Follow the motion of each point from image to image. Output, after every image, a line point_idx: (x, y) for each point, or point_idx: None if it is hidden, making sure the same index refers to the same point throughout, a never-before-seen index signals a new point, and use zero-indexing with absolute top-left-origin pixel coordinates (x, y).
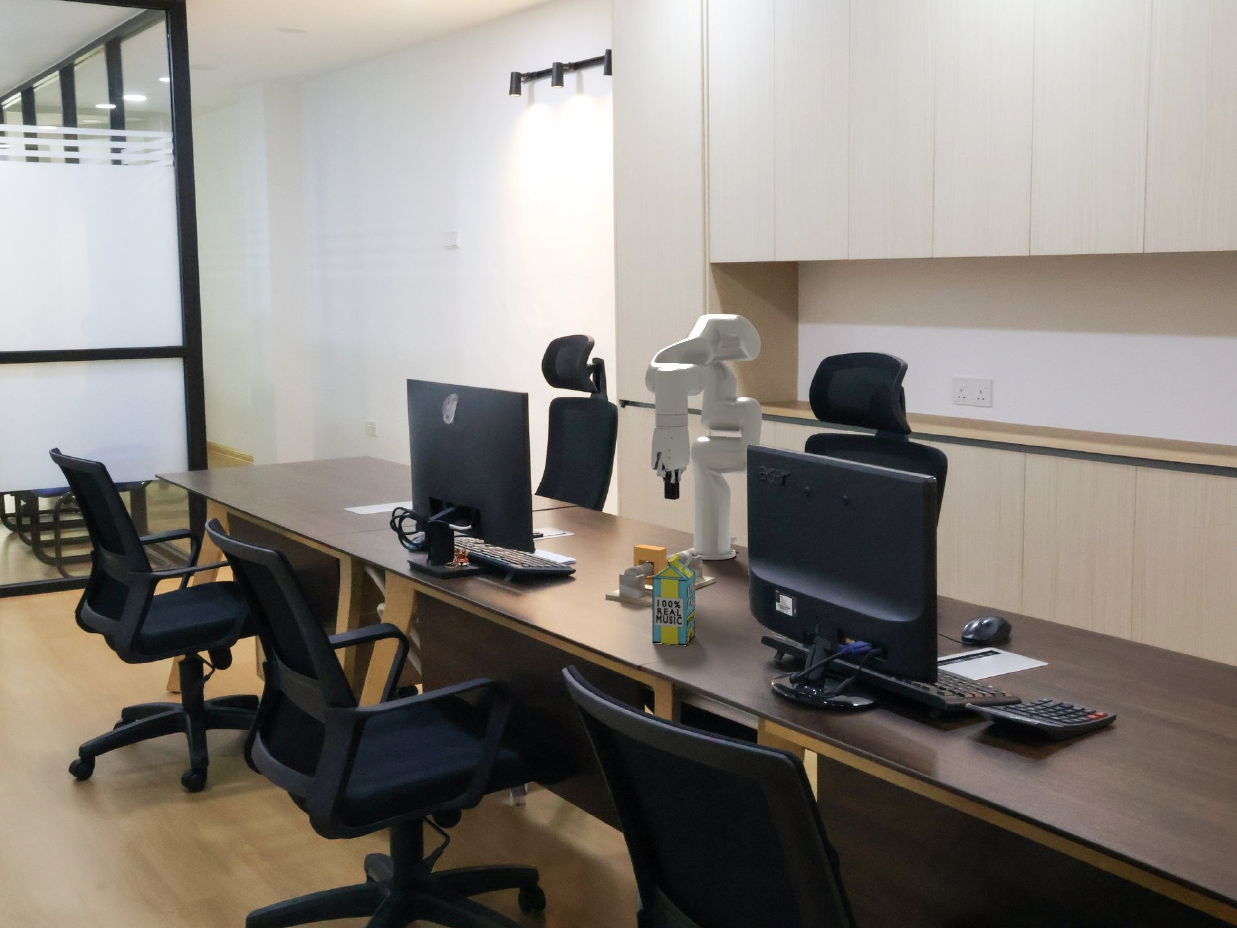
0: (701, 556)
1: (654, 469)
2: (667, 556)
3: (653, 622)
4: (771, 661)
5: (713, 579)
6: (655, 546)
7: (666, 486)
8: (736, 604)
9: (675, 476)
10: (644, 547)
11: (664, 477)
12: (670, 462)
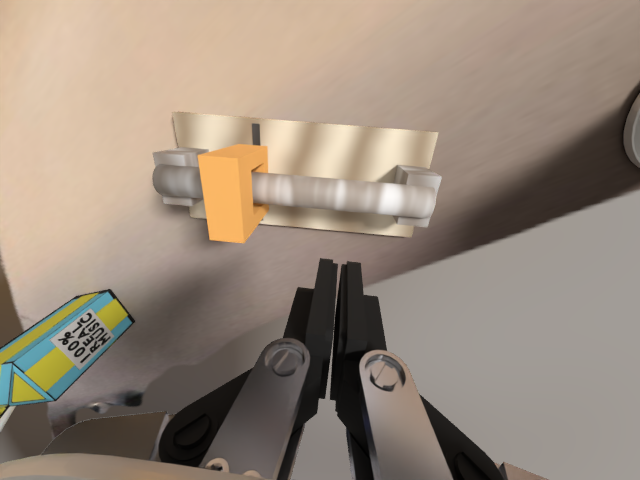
0: (423, 226)
1: (28, 472)
2: (317, 196)
3: (50, 315)
4: (136, 392)
5: (402, 235)
6: (240, 209)
7: (284, 334)
8: (290, 310)
9: (365, 439)
10: (209, 190)
11: (225, 408)
12: None
